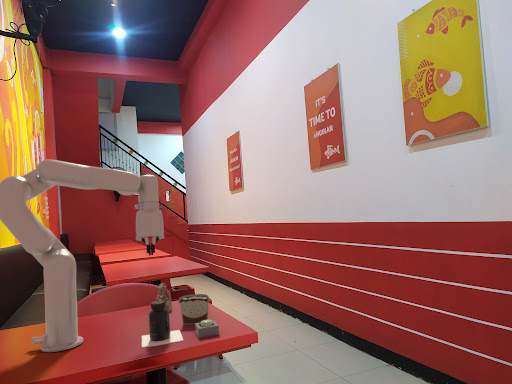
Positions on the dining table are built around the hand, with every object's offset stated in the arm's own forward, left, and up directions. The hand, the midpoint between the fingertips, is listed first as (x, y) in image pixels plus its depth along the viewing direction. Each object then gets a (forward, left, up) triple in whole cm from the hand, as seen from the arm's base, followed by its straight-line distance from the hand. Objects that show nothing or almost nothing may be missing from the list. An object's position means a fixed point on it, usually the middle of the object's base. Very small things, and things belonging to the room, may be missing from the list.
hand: (151, 254), depth 138 cm
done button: (+17, -18, -26) cm, 36 cm away
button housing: (+17, -18, -27) cm, 37 cm away
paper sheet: (+2, -16, -27) cm, 31 cm away
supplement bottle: (+1, -16, -27) cm, 31 cm away
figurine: (+5, +24, -27) cm, 37 cm away
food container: (+16, -2, -27) cm, 32 cm away
